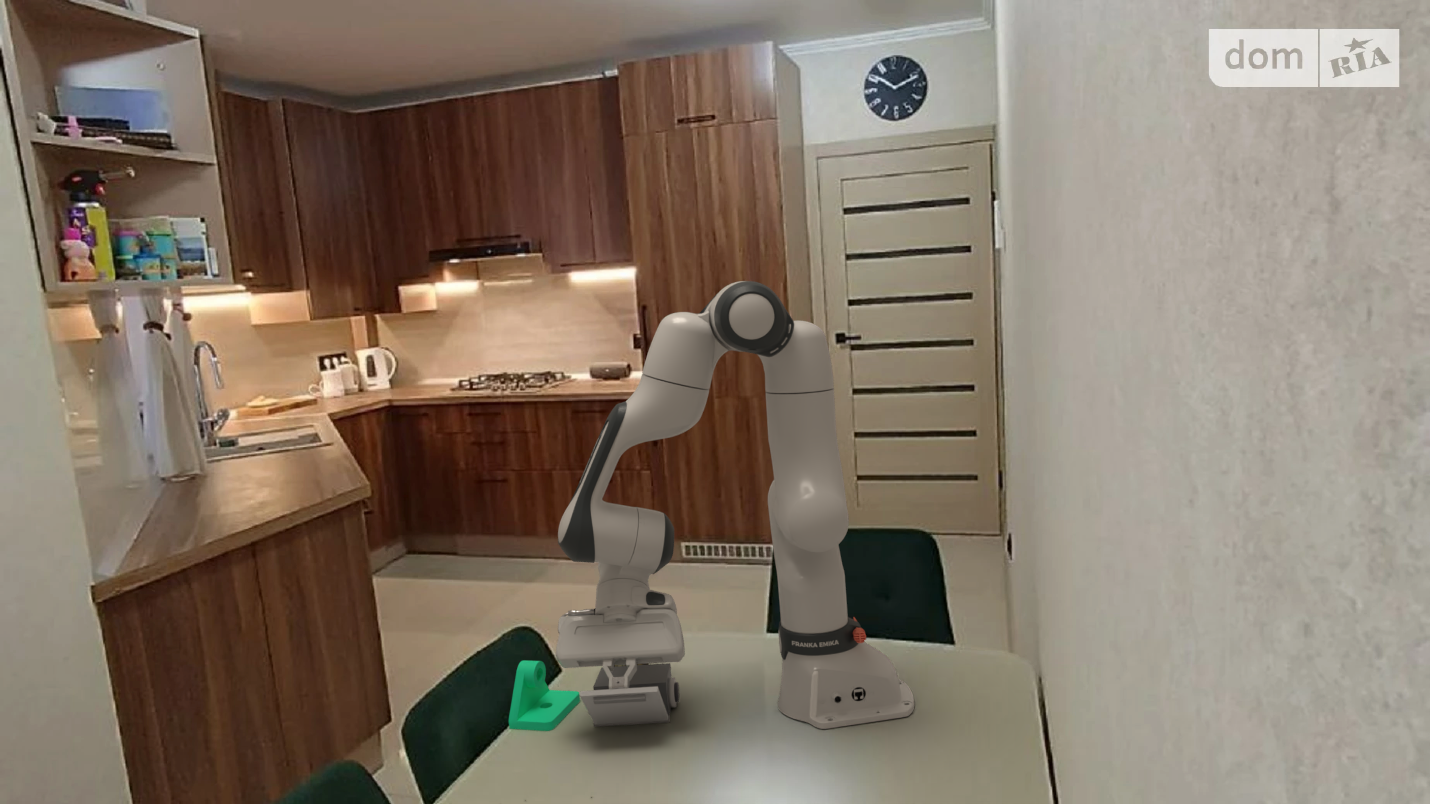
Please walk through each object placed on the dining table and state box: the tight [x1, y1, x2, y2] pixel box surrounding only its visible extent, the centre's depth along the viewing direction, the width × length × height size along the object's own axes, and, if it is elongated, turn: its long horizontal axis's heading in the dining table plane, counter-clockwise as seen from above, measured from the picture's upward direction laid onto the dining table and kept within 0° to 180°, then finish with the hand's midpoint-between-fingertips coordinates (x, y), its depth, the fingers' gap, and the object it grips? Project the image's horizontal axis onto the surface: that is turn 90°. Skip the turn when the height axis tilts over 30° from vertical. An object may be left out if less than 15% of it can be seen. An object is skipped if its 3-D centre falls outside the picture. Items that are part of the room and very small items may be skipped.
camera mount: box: [508, 659, 581, 732], centre depth 156 cm, size 12×8×10 cm, turn 164°
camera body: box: [592, 662, 680, 717], centre depth 155 cm, size 13×8×7 cm, turn 88°
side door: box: [579, 686, 671, 728], centre depth 146 cm, size 12×2×13 cm
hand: (618, 690), depth 141 cm, fingers closed, pressing on side door
